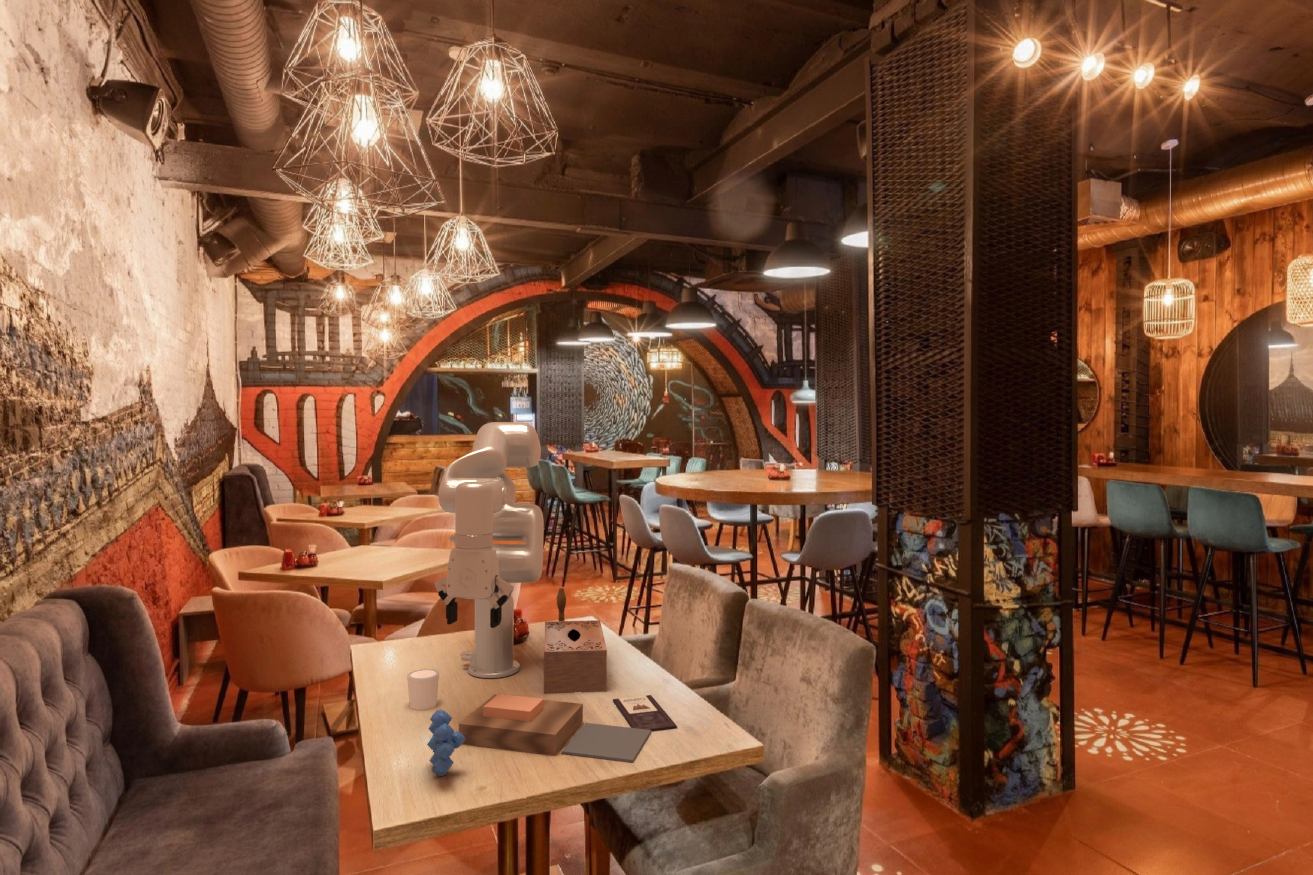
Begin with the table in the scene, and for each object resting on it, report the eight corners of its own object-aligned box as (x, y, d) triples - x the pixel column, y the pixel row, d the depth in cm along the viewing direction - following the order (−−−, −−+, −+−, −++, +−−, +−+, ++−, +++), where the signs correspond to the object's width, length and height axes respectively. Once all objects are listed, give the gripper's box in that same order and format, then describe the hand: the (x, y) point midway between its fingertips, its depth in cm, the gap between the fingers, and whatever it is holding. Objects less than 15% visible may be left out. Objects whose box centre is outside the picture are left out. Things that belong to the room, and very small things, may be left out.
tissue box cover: (544, 659, 203) (545, 621, 203) (599, 657, 205) (599, 620, 205) (543, 694, 178) (544, 652, 177) (606, 692, 180) (606, 650, 179)
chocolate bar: (635, 731, 156) (612, 699, 174) (635, 735, 156) (612, 703, 174) (677, 725, 159) (650, 694, 176) (677, 730, 159) (650, 699, 176)
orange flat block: (483, 716, 154) (483, 706, 154) (498, 703, 161) (498, 694, 161) (529, 721, 152) (530, 711, 152) (543, 708, 159) (543, 698, 159)
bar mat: (561, 753, 147) (561, 751, 147) (585, 725, 160) (585, 722, 160) (632, 762, 143) (632, 759, 143) (651, 732, 157) (651, 729, 157)
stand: (458, 743, 151) (458, 723, 150) (494, 712, 166) (494, 694, 166) (555, 755, 146) (555, 734, 146) (582, 722, 161) (582, 703, 161)
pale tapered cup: (445, 701, 172) (445, 670, 172) (427, 712, 166) (427, 680, 166) (419, 697, 174) (419, 667, 174) (400, 708, 168) (400, 676, 168)
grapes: (471, 785, 134) (472, 717, 134) (431, 792, 131) (431, 723, 131) (460, 757, 145) (460, 694, 144) (422, 763, 142) (422, 699, 142)
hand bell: (542, 649, 211) (543, 591, 211) (551, 640, 219) (552, 584, 219) (572, 650, 210) (572, 592, 209) (580, 642, 218) (580, 585, 217)
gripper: (426, 542, 157) (426, 626, 157) (505, 546, 153) (504, 632, 153) (445, 537, 164) (444, 617, 165) (520, 541, 160) (520, 623, 161)
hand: (473, 624), depth 159 cm, fingers open, 9 cm apart
